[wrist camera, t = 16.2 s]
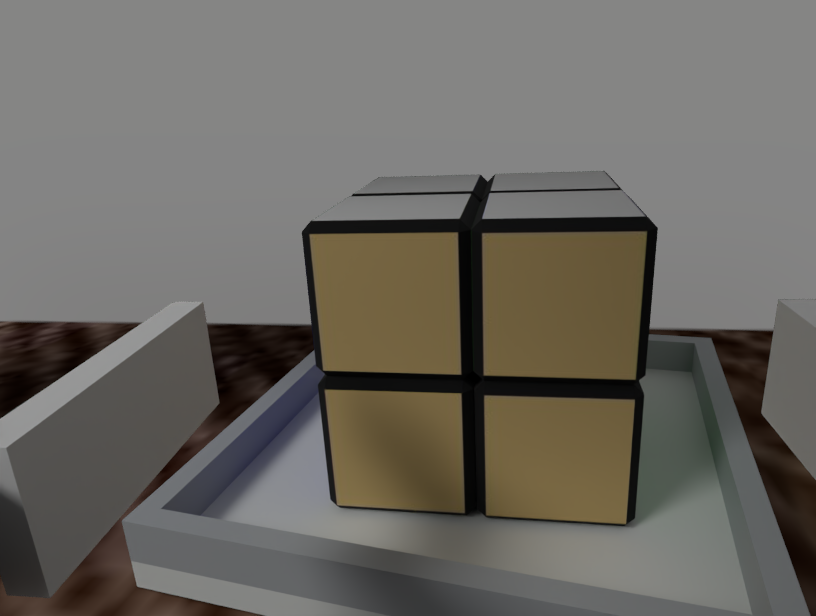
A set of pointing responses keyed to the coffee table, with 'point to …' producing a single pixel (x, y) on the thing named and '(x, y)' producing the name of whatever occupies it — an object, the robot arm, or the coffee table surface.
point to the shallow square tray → (473, 523)
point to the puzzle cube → (483, 345)
